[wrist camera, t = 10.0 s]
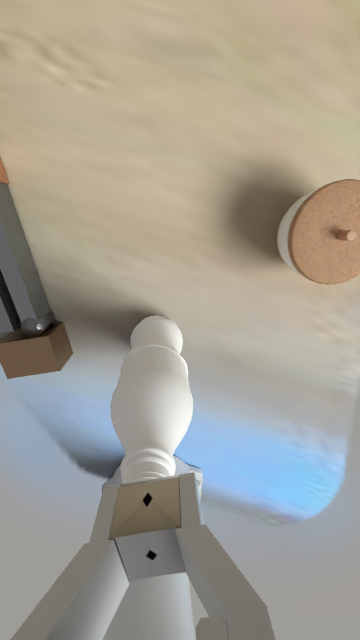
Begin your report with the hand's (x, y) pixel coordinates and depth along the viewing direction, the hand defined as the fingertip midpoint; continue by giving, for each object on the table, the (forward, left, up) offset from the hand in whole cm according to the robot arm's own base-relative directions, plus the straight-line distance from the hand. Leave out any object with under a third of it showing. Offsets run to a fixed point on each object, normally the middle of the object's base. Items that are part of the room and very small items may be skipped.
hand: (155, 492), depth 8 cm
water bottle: (-6, +2, -29) cm, 30 cm away
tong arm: (+8, +17, -29) cm, 34 cm away
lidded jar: (+5, -20, -29) cm, 36 cm away
